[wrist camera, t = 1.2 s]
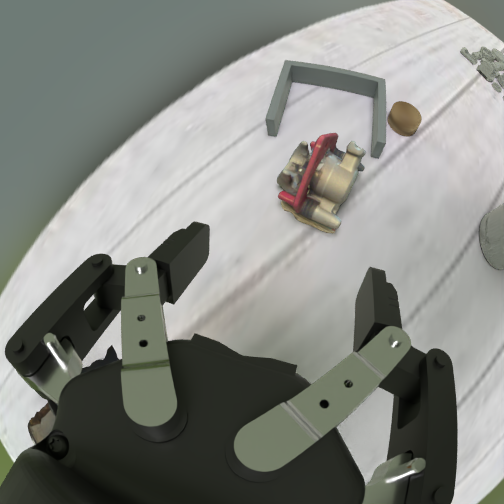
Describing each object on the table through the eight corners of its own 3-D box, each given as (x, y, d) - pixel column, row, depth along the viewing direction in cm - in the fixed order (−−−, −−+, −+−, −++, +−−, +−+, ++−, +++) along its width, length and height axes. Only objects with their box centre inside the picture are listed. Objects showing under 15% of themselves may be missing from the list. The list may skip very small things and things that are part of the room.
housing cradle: (380, 95, 37) (385, 79, 33) (378, 158, 35) (385, 143, 31) (286, 76, 40) (285, 60, 36) (268, 135, 38) (265, 118, 34)
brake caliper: (289, 126, 35) (347, 100, 24) (340, 174, 40) (402, 168, 29) (246, 191, 34) (299, 182, 23) (306, 237, 39) (369, 247, 28)
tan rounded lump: (414, 117, 36) (420, 107, 33) (416, 140, 35) (422, 130, 32) (387, 109, 37) (391, 97, 34) (387, 131, 36) (392, 120, 33)
